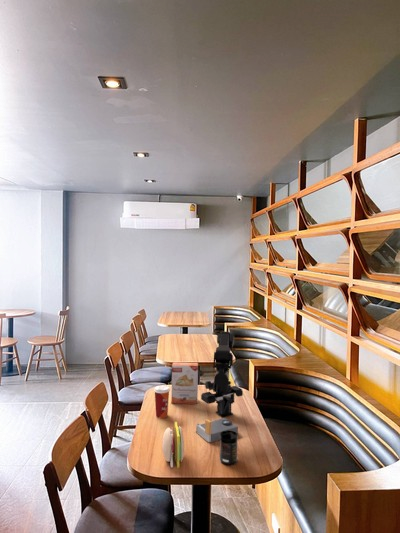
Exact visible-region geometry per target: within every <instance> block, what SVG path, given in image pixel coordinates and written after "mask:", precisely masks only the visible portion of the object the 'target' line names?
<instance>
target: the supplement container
mask: <svg viewBox="0 0 400 533" xmlns="http://www.w3.org/2000/svg"><path fill="white" fill-rule="evenodd" d="M238 435H239V434H237V433H236V432H234V431H223V432H221V433H220V440H219V461H220V462H221V464H223V465H226V466H233V465H235V464H236V463H237V461H238Z"/></svg>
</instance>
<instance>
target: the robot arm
mask: <svg viewBox="0 0 400 533" xmlns="http://www.w3.org/2000/svg"><path fill="white" fill-rule="evenodd" d="M216 343H217V345H218V347H216V349H215V351H214V352H213V353H214V354H213V364H212V366H213V367H212V368H214V369H215V374H214V381H213V382H211V380H209V381H205V384H204V387H205V389H206V390H209V391H206V392H202V393H201V395H200V400H201V401H203V402H204V403H206V404H208V405H210V404H213V403H216V404H217V405H216V411H215V413H216V414H217V415H218V416H220V417H221V418H226V417H229V416H233V415H234V413H233V412H232V405H233V404H234V403H235V396H236V397H243V395H244V391H243V389H242V388H241V387H239V386H236V385H234V386H232V385H231V384H232V381H230V370H231V369H232V367H233V364H234V355H233V353H232V352H231V351H232V349H233V346H234V345H235V335H234V334H232V333H231V332H230V331H225V330H223V331H219V333H218V334H216ZM211 391H212V392H214V393H212V392H211Z"/></svg>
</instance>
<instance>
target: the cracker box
mask: <svg viewBox="0 0 400 533" xmlns="http://www.w3.org/2000/svg"><path fill="white" fill-rule="evenodd" d="M171 367H172V368H171V404H190V405H191V404H192V405H195V404H196V405H197V404H198V399H199V398H198V392H199V389H198V388H199V387H198V386H199V362H172V365H171Z"/></svg>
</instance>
